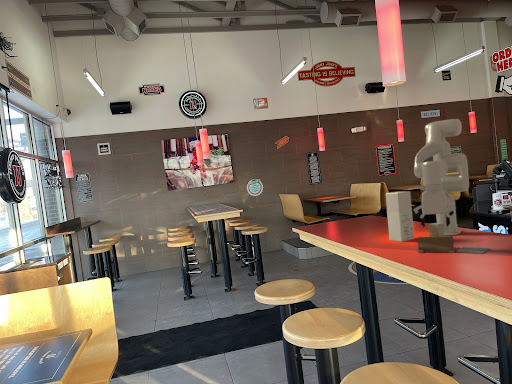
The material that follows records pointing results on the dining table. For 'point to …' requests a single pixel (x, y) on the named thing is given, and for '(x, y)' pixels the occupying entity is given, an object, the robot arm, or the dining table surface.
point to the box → (436, 230)
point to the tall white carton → (399, 216)
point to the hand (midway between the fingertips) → (435, 226)
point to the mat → (473, 250)
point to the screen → (435, 244)
